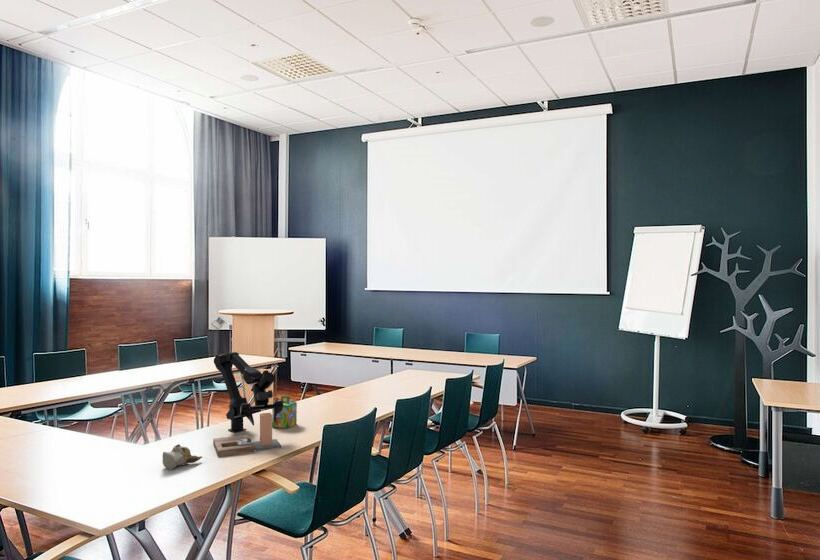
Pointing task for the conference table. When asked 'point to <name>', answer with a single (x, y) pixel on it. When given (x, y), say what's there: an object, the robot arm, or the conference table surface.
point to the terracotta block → (266, 429)
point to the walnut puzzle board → (231, 446)
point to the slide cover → (244, 442)
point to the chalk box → (286, 414)
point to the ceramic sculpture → (178, 457)
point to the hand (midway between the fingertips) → (264, 423)
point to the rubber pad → (274, 445)
